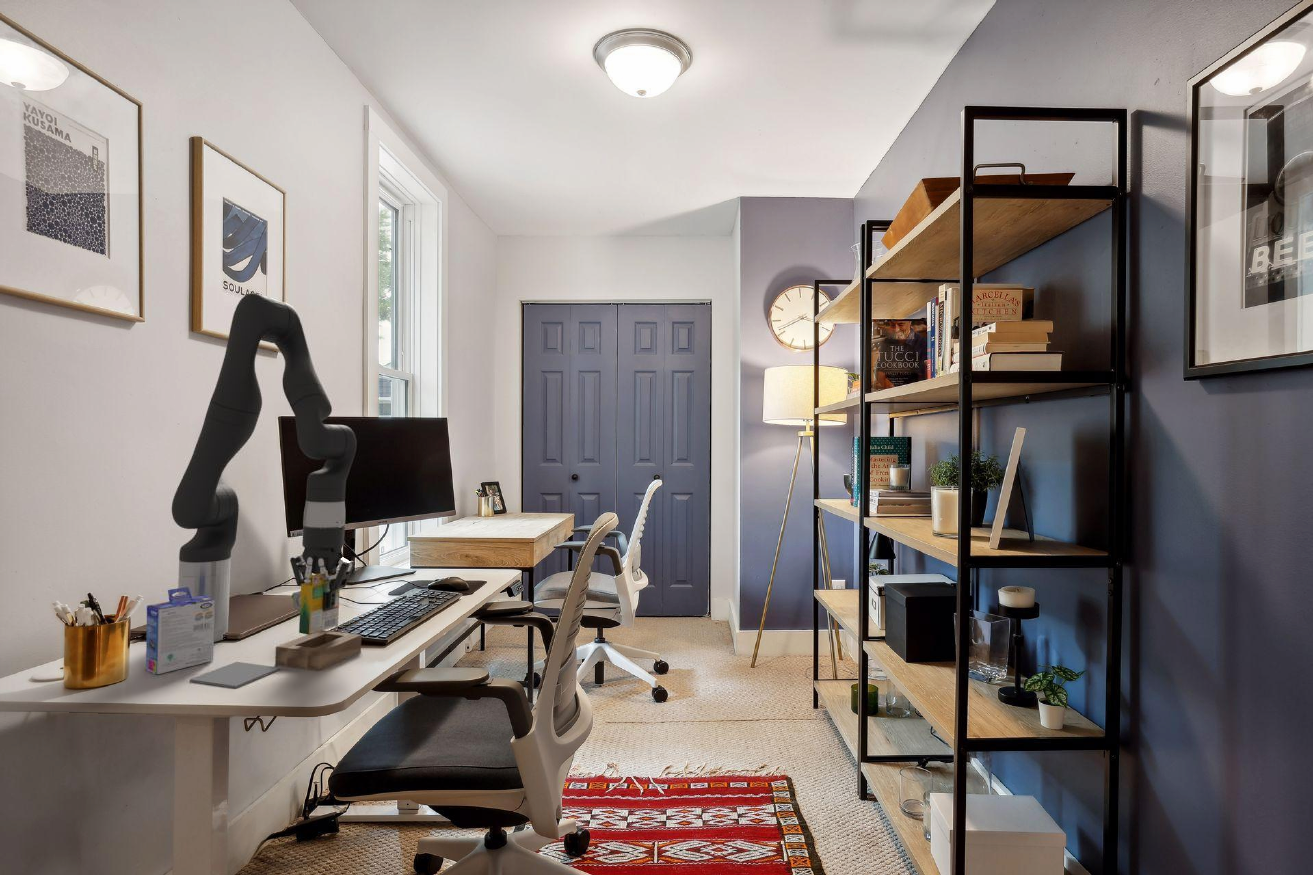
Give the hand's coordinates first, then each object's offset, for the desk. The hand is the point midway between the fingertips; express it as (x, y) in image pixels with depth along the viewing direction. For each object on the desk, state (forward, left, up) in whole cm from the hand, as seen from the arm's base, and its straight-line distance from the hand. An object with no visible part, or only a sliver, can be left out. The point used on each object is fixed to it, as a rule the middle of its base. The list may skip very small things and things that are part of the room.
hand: (319, 608), depth 134 cm
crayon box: (0, 0, -4) cm, 4 cm away
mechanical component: (-10, +10, -10) cm, 17 cm away
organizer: (0, 0, -10) cm, 10 cm away
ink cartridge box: (-21, -12, -10) cm, 26 cm away
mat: (-7, -13, -10) cm, 18 cm away
